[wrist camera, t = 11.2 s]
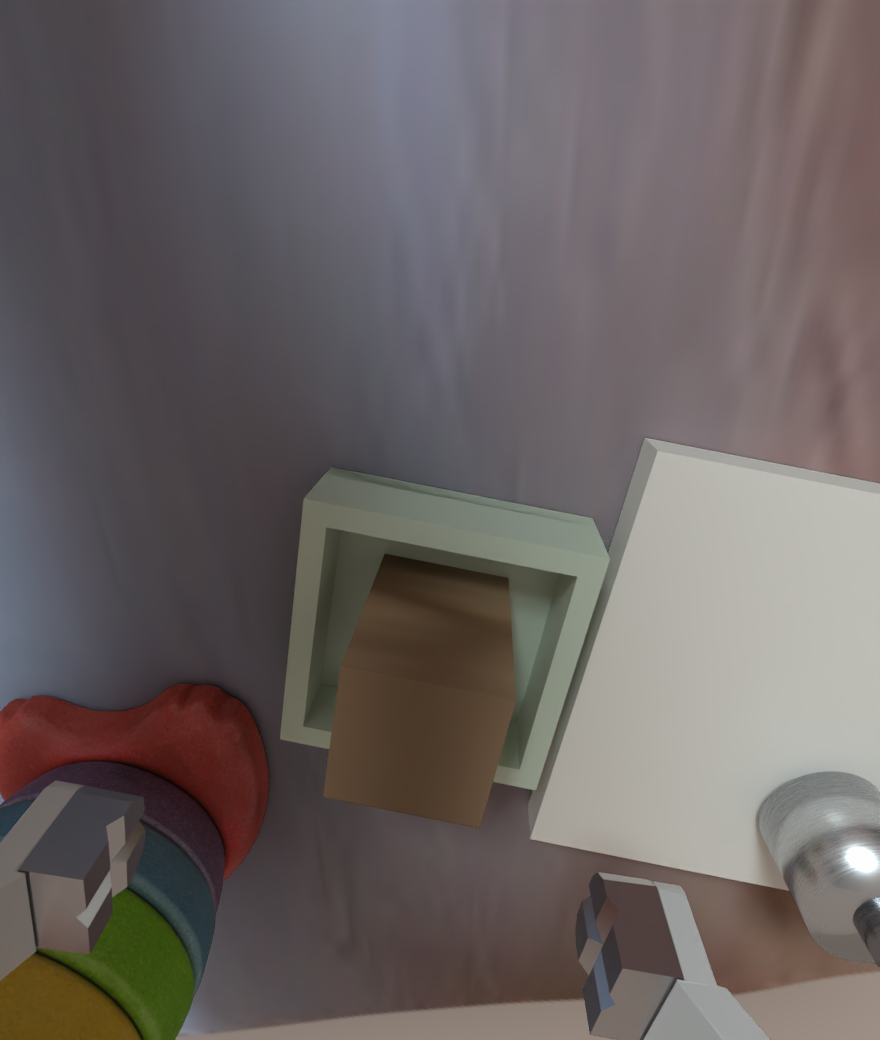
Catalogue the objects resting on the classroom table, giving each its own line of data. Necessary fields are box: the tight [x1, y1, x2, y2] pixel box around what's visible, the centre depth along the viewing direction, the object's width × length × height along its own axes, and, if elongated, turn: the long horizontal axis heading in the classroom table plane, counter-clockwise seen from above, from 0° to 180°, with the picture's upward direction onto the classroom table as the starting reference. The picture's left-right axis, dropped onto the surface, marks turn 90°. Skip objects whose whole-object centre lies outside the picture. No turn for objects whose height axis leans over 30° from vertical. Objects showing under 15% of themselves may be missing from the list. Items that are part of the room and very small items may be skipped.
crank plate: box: [528, 438, 880, 891], centre depth 20 cm, size 19×15×2 cm
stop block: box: [323, 554, 516, 828], centre depth 17 cm, size 4×4×6 cm
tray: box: [280, 467, 610, 790], centre depth 19 cm, size 8×8×3 cm
